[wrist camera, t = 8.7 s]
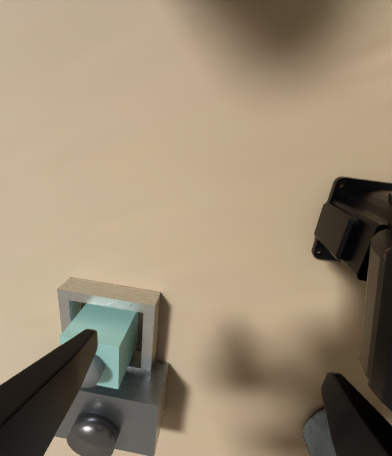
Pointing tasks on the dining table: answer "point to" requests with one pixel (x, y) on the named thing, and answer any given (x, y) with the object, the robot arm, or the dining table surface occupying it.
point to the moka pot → (318, 435)
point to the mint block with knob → (106, 342)
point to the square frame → (131, 383)
